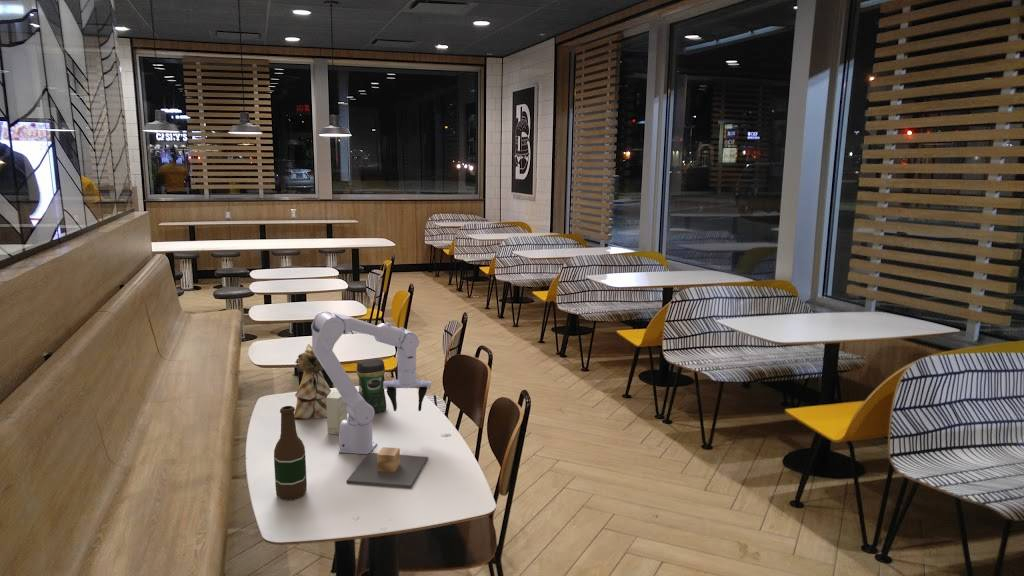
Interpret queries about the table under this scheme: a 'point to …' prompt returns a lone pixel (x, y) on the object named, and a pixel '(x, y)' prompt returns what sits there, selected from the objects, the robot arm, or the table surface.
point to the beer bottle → (289, 459)
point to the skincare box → (335, 412)
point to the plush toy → (311, 387)
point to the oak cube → (388, 459)
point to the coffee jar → (372, 382)
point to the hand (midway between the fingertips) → (407, 409)
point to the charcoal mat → (399, 478)
